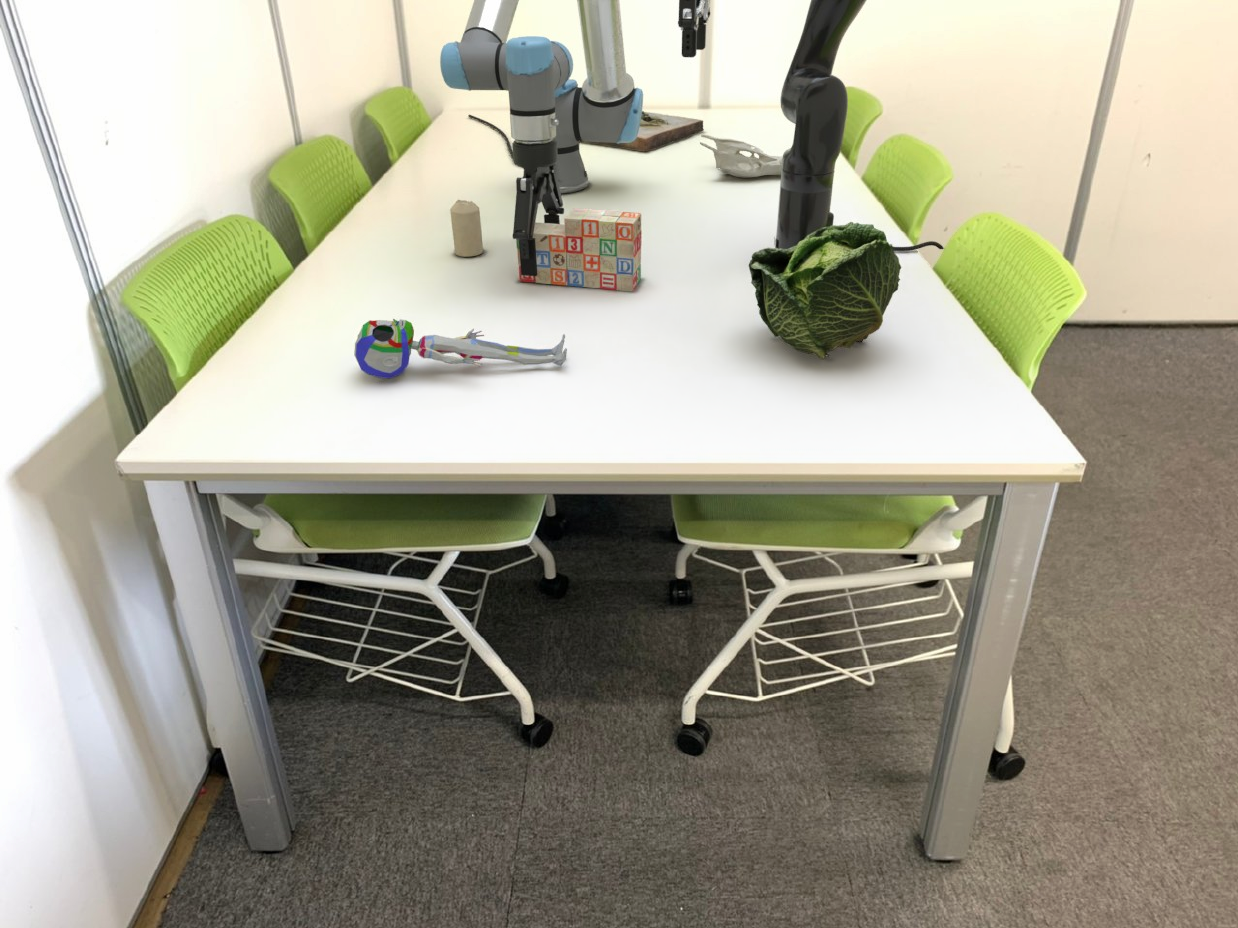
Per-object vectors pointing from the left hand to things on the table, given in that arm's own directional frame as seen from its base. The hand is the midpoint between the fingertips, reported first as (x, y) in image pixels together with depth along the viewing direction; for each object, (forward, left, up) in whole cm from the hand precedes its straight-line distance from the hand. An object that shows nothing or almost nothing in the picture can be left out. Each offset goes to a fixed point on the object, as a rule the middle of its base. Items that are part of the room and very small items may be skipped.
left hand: (541, 262), depth 161 cm
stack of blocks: (+6, +4, -3) cm, 8 cm away
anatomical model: (-15, +82, -3) cm, 83 cm away
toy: (+19, -32, -3) cm, 38 cm away
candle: (-21, 0, -3) cm, 21 cm away
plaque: (-67, +94, -3) cm, 115 cm away
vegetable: (+53, +10, -3) cm, 54 cm away
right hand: (+19, +19, +34) cm, 43 cm away
